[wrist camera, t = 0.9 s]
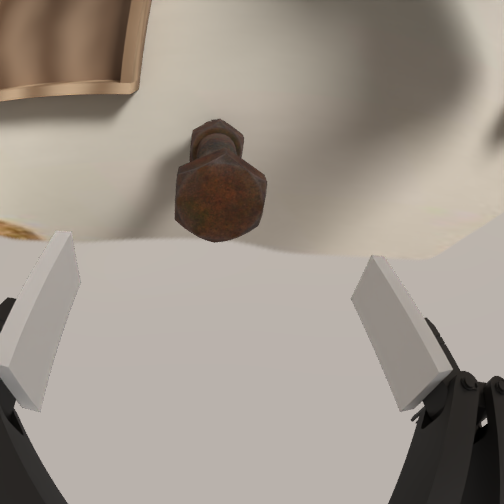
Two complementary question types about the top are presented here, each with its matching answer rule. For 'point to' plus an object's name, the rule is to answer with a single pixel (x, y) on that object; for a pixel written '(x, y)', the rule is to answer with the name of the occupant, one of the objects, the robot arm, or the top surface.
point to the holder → (71, 47)
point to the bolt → (218, 186)
